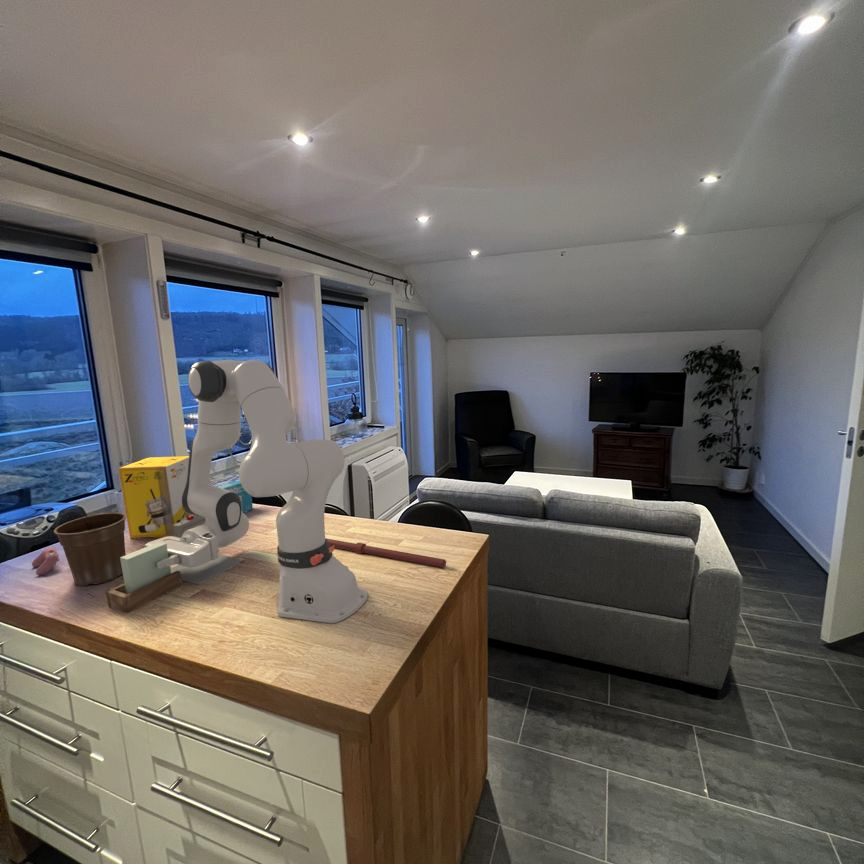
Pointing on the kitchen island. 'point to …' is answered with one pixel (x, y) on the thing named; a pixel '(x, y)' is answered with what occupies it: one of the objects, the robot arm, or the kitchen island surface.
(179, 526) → the cassette player
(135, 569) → the cover plate
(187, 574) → the grey rubber mat
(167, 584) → the walnut box
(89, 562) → the plant pot
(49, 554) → the pink lobed lump
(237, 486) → the teal lettered box
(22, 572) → the kitchen island surface
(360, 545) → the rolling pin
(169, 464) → the packaging box
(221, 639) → the kitchen island surface
